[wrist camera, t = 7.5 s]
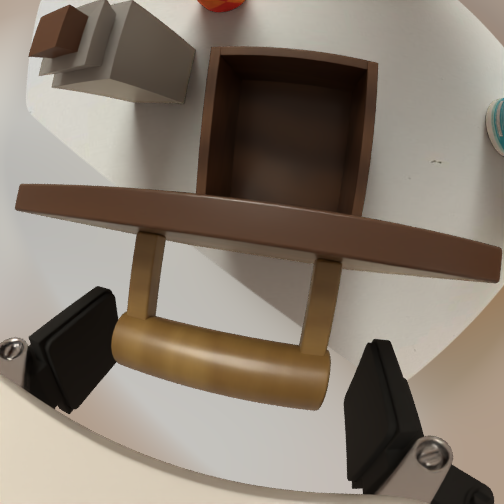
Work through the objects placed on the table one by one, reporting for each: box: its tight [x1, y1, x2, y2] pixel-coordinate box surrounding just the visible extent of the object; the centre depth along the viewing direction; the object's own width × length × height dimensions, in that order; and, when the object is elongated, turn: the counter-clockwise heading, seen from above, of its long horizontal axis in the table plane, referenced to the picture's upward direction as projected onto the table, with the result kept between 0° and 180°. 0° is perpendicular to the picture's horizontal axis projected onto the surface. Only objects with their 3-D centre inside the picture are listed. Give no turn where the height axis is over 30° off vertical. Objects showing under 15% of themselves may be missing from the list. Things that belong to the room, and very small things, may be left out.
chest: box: [196, 46, 378, 217], centre depth 24 cm, size 16×13×9 cm
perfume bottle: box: [29, 0, 196, 104], centre depth 19 cm, size 7×7×18 cm
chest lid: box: [15, 184, 502, 411], centre depth 13 cm, size 16×13×5 cm
